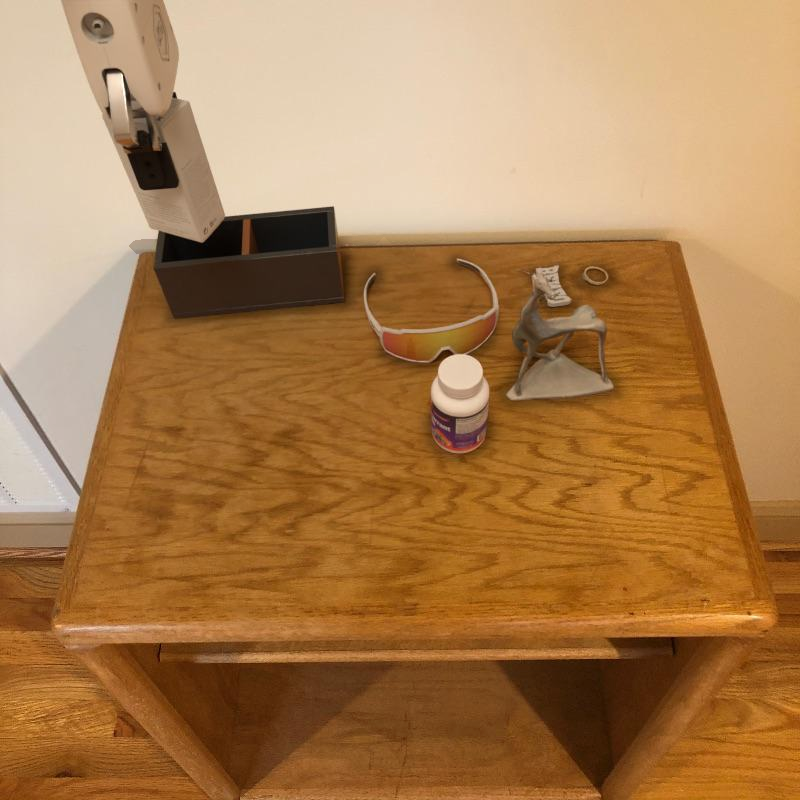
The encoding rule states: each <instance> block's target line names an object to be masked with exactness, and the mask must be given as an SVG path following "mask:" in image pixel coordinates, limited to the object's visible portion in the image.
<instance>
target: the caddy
mask: <svg viewBox="0 0 800 800" xmlns="http://www.w3.org/2000/svg"><path fill="white" fill-rule="evenodd" d="M157 232H158V233H157V238H156V244H155V245H156V246H155V247H156V248H155V253H154V260H153V267H152V268H153V271H154V274H155V276H156V278H157V281H158V284H159V287H161V288H160V289H161V290H162V293H163V295H164V298H165V301H166V303H167V305H168V308H169V310H170V313H171V315H172V317H173V319H186V318H195V317H204V316H215V315H224V314H225V315H226V314H236V313H246V312H256V311H258V312H259V311H268V310H277V309H287V308H297V307H309V306H317V305H318V306H319V305H329V304H341V303H345V291H344V279H343V262H342V253H341V246H340V238H339V233H338V224H337V217H336V209H335V206H334V205H333V206H323V207H322V206H321V207H311V208H300V209H291V210H290V209H289V210H280V211H268V212H258V213H248V214H238V215H237V214H235V215H227V216H226V215H225V218H224V220H223V221H222V222H221V223H220V225H219V226H218V227H217V228H216V229H215V230H214V231H213V233H212V234H211V235H210V236H209V237H208V238H207V239H206V240H205V241H204V242H203V243H201V242H198V241H194V240H190V239H187V238H183V237H180V236H176V235H173V234H169V233H166V232H162V231H159V230H157Z"/></svg>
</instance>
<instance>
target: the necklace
mask: <svg viewBox="0 0 800 800" xmlns="http://www.w3.org/2000/svg"><path fill="white" fill-rule="evenodd" d="M559 268H560V265H559V264H558V265H553V266H550V267H543V268H542V267H537V268H535V274H539V273H543V274H544V277H545V278H546V279H547V281H548V284H549V286H550V287H551V289H552V290H553V291H554V292H555V293H556V298H555V299H554V300H550V299H548V297H547V295H546V294H545V293H543V294H542V295H540V299H539V301H538V302H537V307H538V306H540V303H541V302H542V299H543V297H544V299H545V301H546V305H547V306H548V307H551V308H555V307H561V306H569V305H570V304H571V303H572V298H571V297H570V296H568V295H567V293H566V292H565V290H564V289H563V288H562V285H561V283H560V279H559ZM515 270H520V271H522V272H524V273H526V274H528V275H530V276H531V275H532V274H533V273H531V272H528V271H527V270H525V269H522V268H518V267H515Z"/></svg>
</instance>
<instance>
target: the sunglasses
mask: <svg viewBox="0 0 800 800" xmlns="http://www.w3.org/2000/svg"><path fill="white" fill-rule="evenodd" d="M456 262H457V263H458V264H459V265H461V266H464V267H467V268H469V269H472V270H474V271H475V272H476V273H478V274H479V275H480V276H481V278H483V281H485V283H486V284H487V286H488V287H489V289H490V291H491V295H492V308H491V309H490V310H488V311H487V312H486V313H483V314H479V315H477V316H475V317H473V318H470V319H467V320H465V321H462V322H458V323H454V324H450V325H445V326H438V327H432V328H419V329H417V328H416V329H415V328H401V329H395V328H390V327H387V326H386V327H385V326H382V325H381V324H380V323H379V322H378V320H377V319H376V318H375V316H374V314H372V312H371V310H370V307H369V304H368V299H367V298H368V297H367V296H368V290H369V288H370V285H371V284H372V282H373V281H374V280H375V279H376V276H377V275H376V272H373V273H372V274H371V275H370V277H369V278H368V279H367V280H366V282H365V285H364V289H363V303H364V304H363V305H364V308H365V313H366V316H367V319H368V322H369V324H370V326H371V328H372V329H373V330H374V331H375V333H376V335H377V336H378V337H379V341H380V344H381V346H382V349H383V350H384V352H385V353H387V354H389V355H391V356H392V357H395V358H397V359H400V360H403V361H408V362H412V363H419V364H429V363H432V362H433V361H435V360H436V359H437V358H438V356H439V355H440V354H441V353H442V352H443V351H447V350H449V351H450V353H452V355H456V354H465V355H469V354H471V353H472V352H474V351H475V350H477V349H479V348H480V346H482V345H483V344H484V343H485V342H486V341H487V340H488V339H489V338H490V337H491V336H492V335H493V333H494V331H495V329H496V327H497V325H498V324H497V323H498V318H499V315H500V307H499V298H498V294H497V291H496V288H495V287H494V284H493V282H492V281H491V279H490V278H489V276H488V275H487V273H486V272H485V271H484V270H483V269H482V268H481V267H479V266H478V265H477V264H475V263H474V262H470V261H468V260H464V259H461V258H456Z"/></svg>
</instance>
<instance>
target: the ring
mask: <svg viewBox="0 0 800 800" xmlns="http://www.w3.org/2000/svg"><path fill="white" fill-rule="evenodd" d="M592 269H593V270H594V269H595V270H598V271H600V272H603V274H604V275H605V277H606V278H605V280H603V281H595V280H592V279H590V278H589V277H588V275H587V272H588V271H589V270H592ZM581 275H582V282H585V281H586V282H587V283H590V284H591V285H596V286H601V285H603V284H606V283H607V281H608V280H609V274H608V272H607V271H606V270H605V269H604V268H602V267H599V266H593V265H592V266H587V267H586V268H585V269H584V271H583V273H581Z"/></svg>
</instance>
